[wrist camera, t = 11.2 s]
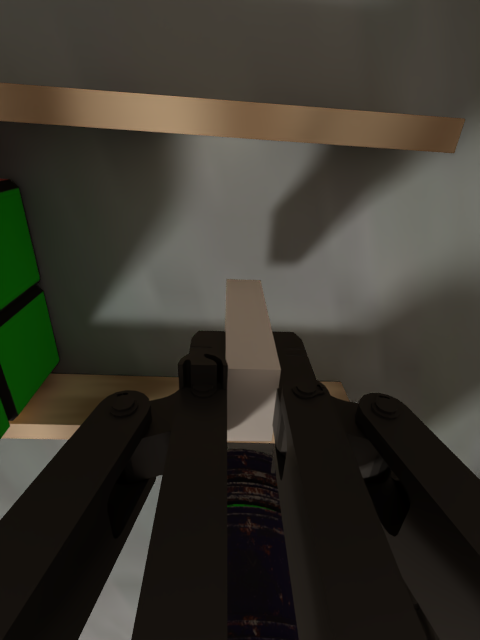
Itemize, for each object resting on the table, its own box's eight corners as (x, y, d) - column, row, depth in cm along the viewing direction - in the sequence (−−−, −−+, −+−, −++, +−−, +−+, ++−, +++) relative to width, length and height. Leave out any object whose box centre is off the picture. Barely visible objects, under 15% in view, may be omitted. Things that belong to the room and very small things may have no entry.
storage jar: (237, 543, 29) (245, 872, 16) (143, 497, 26) (58, 867, 13) (325, 487, 26) (424, 843, 13) (231, 426, 23) (236, 825, 10)
